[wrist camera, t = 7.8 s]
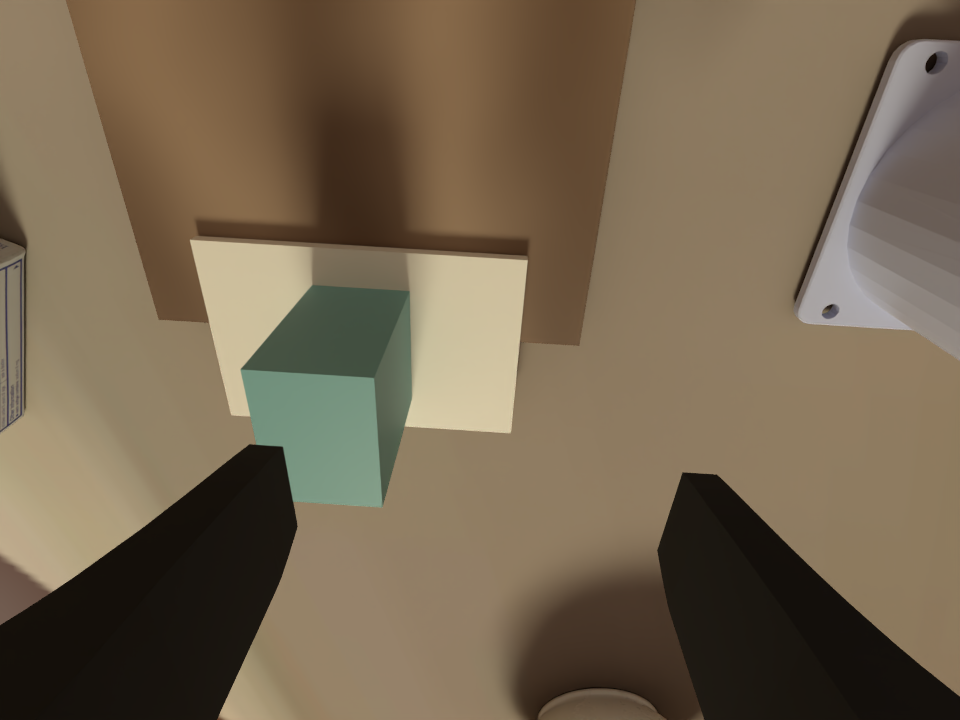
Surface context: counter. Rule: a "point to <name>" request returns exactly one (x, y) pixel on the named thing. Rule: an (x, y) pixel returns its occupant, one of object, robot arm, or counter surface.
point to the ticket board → (363, 131)
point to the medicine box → (11, 333)
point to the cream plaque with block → (360, 350)
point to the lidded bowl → (599, 706)
